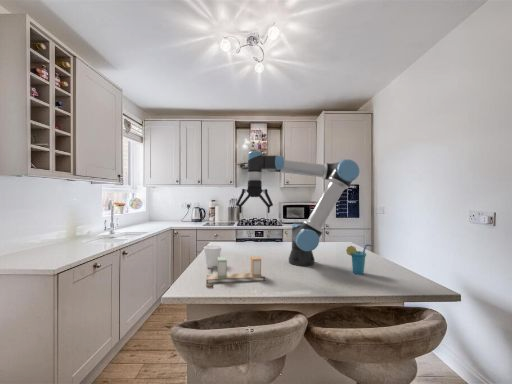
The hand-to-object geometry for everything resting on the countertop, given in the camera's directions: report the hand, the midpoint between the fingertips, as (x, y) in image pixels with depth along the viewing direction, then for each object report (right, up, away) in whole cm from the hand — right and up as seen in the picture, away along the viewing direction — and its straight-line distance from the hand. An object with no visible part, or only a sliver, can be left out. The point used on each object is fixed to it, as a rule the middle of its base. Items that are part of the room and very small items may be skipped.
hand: (254, 219), depth 143 cm
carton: (-15, -25, -20) cm, 36 cm away
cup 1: (-23, -27, +2) cm, 35 cm away
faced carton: (+1, -25, -18) cm, 31 cm away
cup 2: (+55, -28, -7) cm, 62 cm away
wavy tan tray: (-9, -27, -20) cm, 34 cm away
